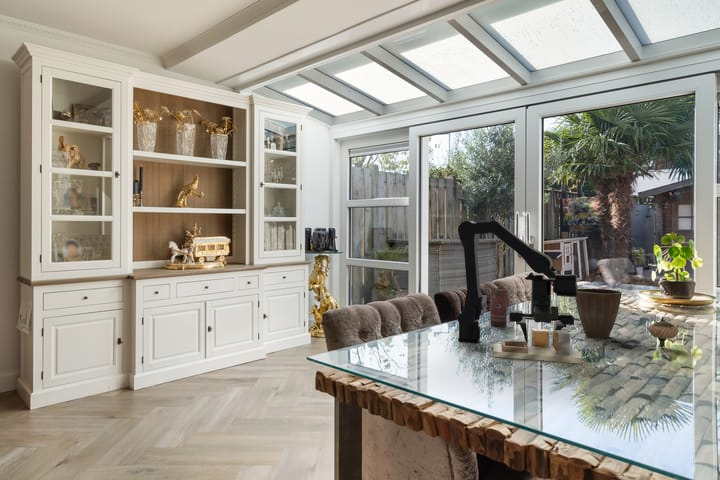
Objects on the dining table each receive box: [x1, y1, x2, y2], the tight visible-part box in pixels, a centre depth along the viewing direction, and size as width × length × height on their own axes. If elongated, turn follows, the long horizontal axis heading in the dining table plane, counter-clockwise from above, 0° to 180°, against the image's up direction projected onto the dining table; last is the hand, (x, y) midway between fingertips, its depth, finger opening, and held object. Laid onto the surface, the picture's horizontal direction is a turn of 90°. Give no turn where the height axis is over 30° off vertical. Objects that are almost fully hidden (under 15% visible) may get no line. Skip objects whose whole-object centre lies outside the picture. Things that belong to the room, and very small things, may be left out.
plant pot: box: [574, 288, 623, 339], centre depth 171 cm, size 15×15×16 cm
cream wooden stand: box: [492, 329, 584, 364], centre depth 144 cm, size 24×10×8 cm, turn 75°
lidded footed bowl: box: [647, 316, 679, 349], centre depth 155 cm, size 8×8×10 cm
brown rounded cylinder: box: [489, 288, 509, 327], centre depth 189 cm, size 6×6×14 cm
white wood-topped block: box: [530, 327, 550, 348], centre depth 152 cm, size 4×5×6 cm
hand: (539, 344), depth 152 cm, fingers open, 7 cm apart
